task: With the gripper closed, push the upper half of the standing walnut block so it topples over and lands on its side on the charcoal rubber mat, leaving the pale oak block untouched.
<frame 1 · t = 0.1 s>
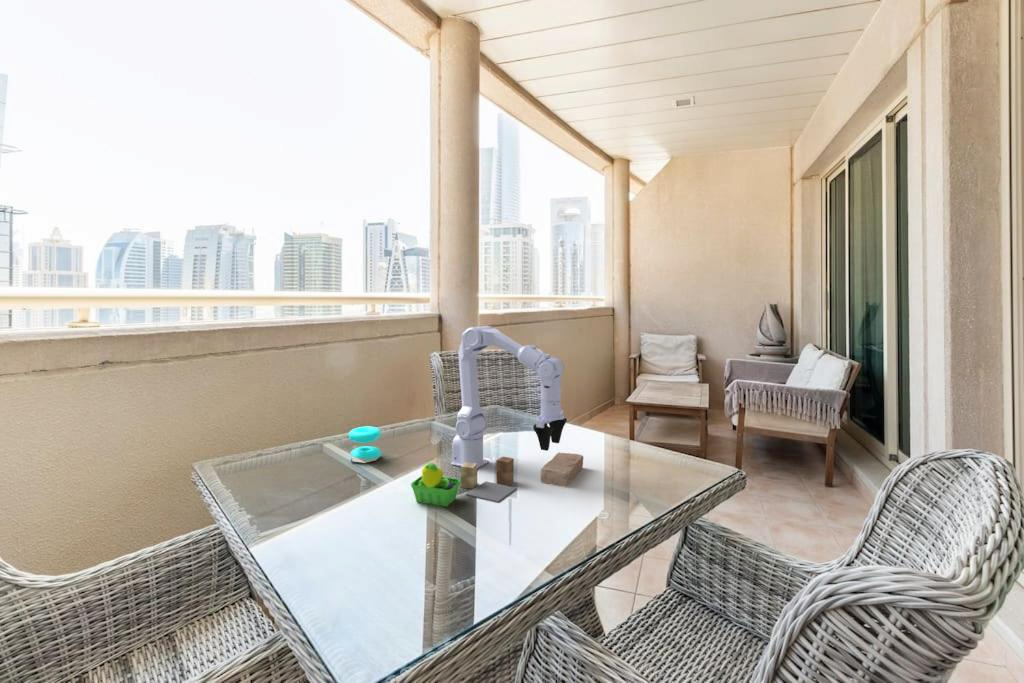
hand: (550, 446, 144), 10 cm above the table, tool pointing down, fingers open, 7 cm apart
donuts: (365, 460, 162), on the table
fruit basket: (435, 502, 130), on the table
mat: (491, 492, 136), on the table
brick: (562, 476, 148), on the table
walnut block: (505, 483, 142), on the table
oak block: (469, 485, 140), on the table
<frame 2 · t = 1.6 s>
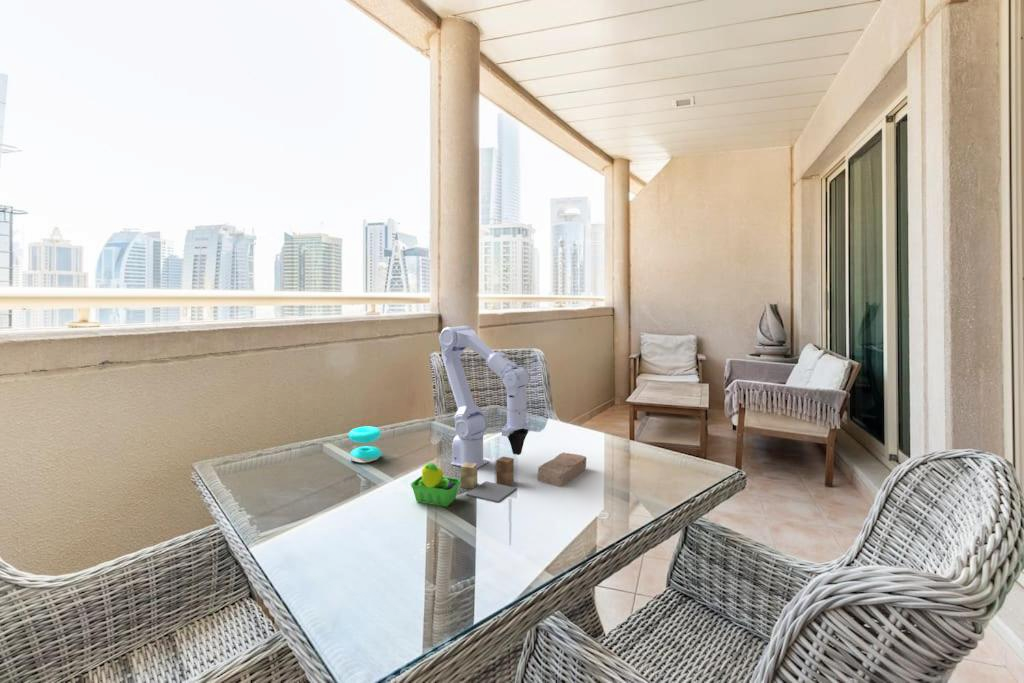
hand: (517, 453, 148), 6 cm above the table, tool pointing down, fingers closed
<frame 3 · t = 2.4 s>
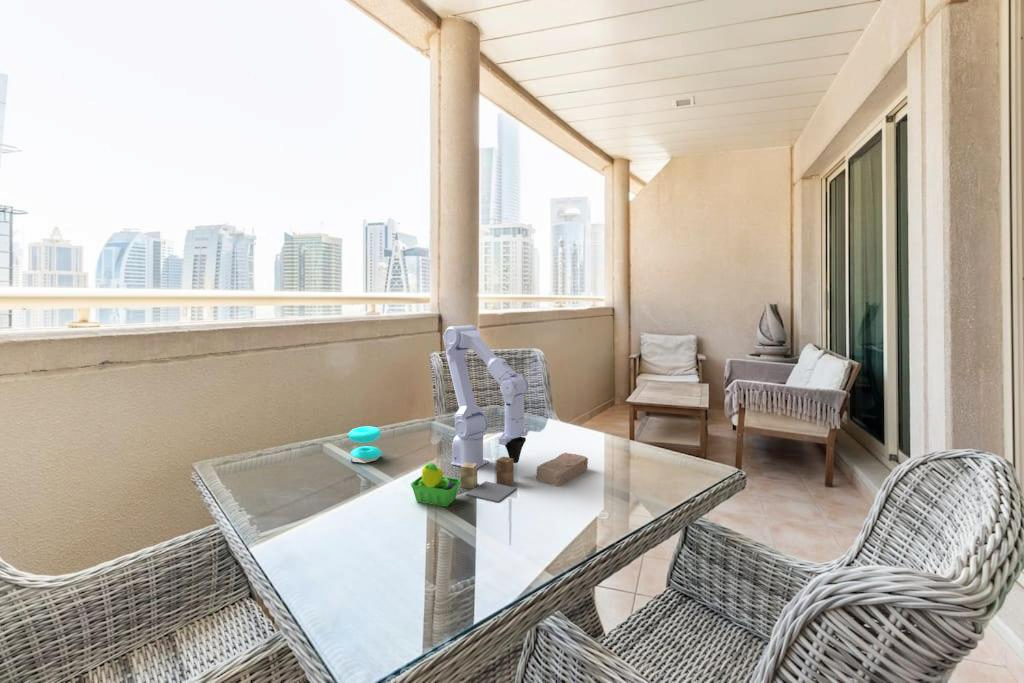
hand: (514, 462, 146), 4 cm above the table, tool pointing down, fingers closed
nothing on the table moved.
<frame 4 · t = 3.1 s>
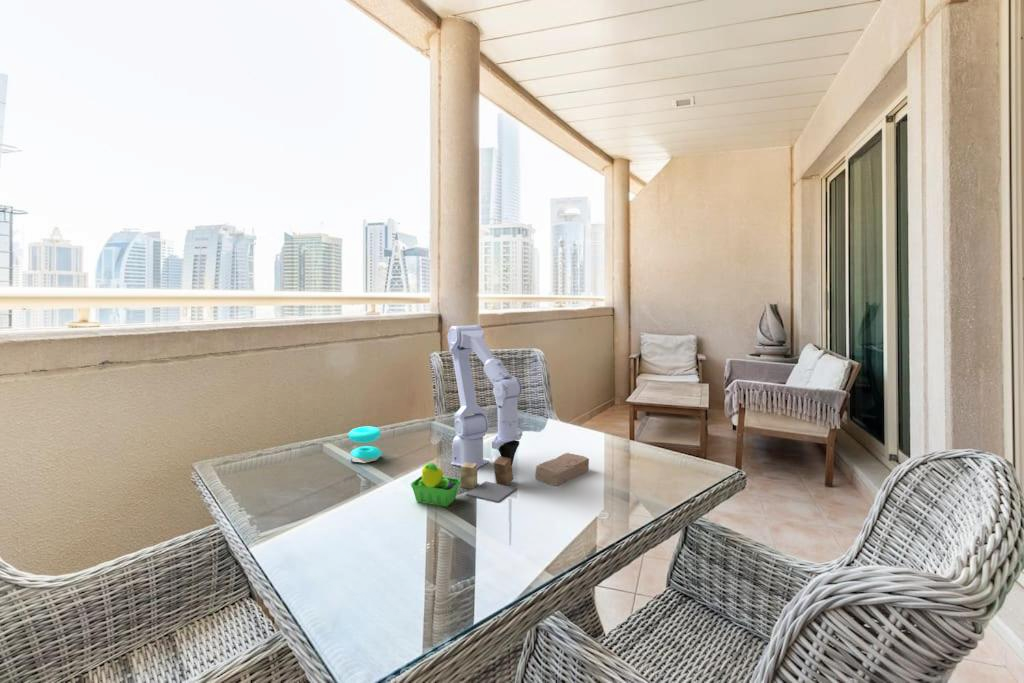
hand: (507, 466, 143), 4 cm above the table, tool pointing down, fingers closed
walnut block: (505, 481, 142), on the table, tilted 15°
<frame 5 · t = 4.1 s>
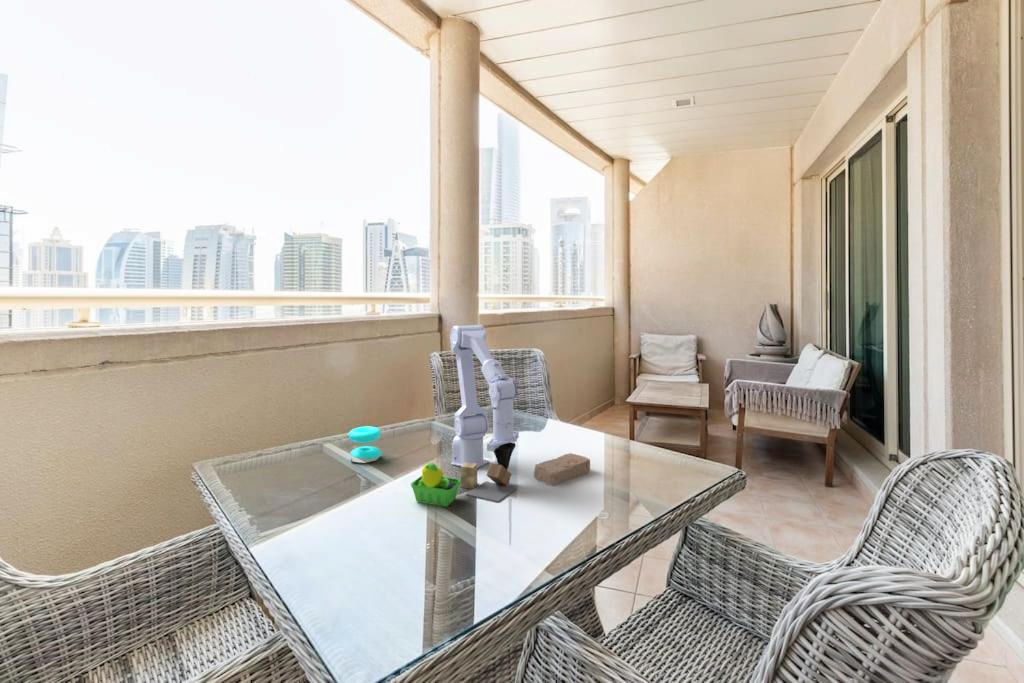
hand: (503, 468, 141), 4 cm above the table, tool pointing down, fingers closed
walnut block: (504, 479, 141), point 1 cm above the table, tilted 51°, touching gripper
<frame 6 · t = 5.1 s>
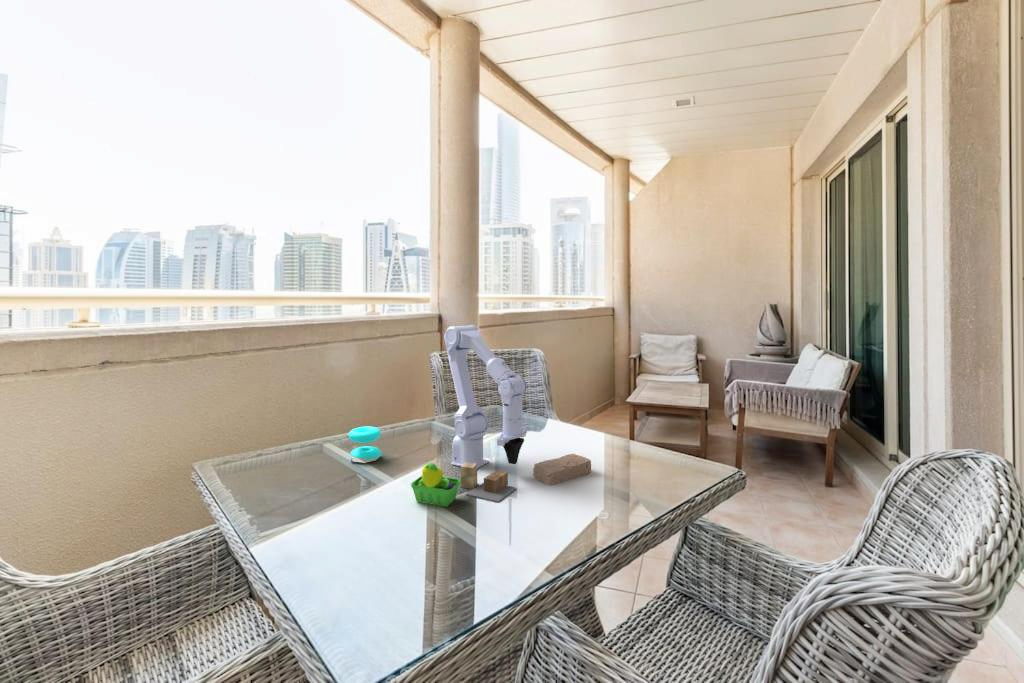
hand: (512, 463, 146), 4 cm above the table, tool pointing down, fingers closed
walnut block: (502, 477, 141), point 2 cm above the table, tilted 90°, touching mat
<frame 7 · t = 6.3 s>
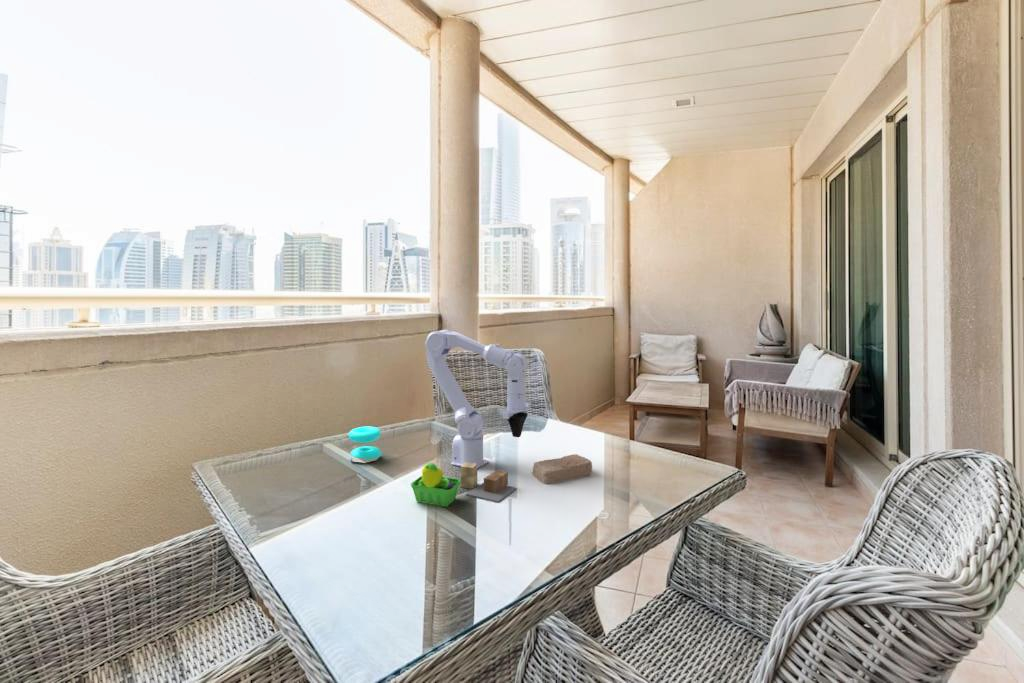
hand: (516, 436, 153), 10 cm above the table, tool pointing down, fingers closed
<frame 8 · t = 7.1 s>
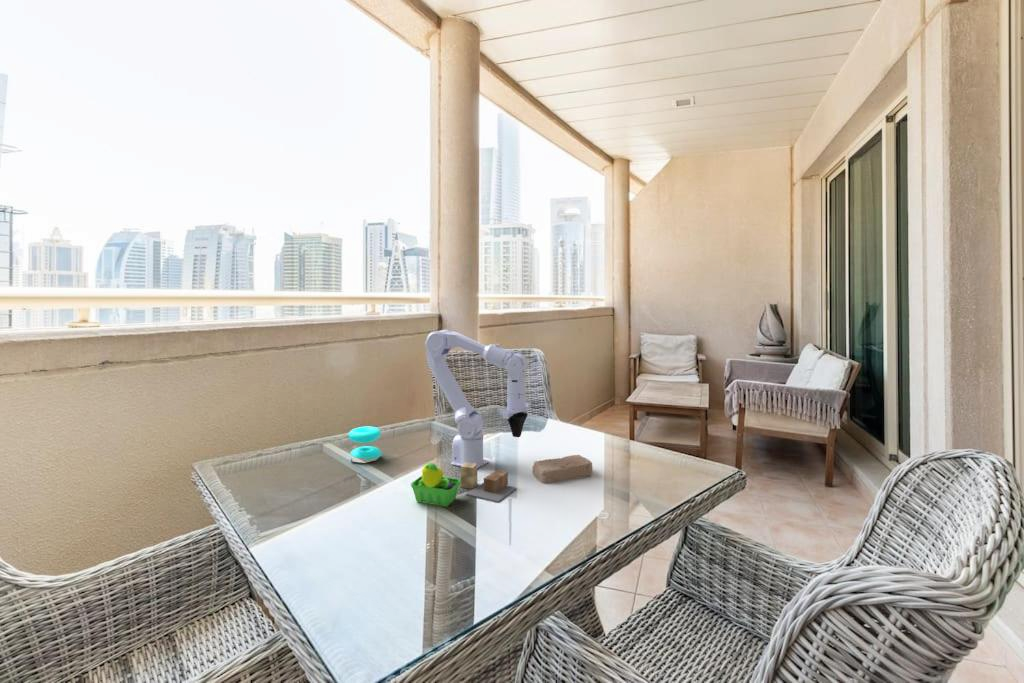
hand: (516, 436, 153), 10 cm above the table, tool pointing down, fingers closed
at the end: walnut block tilted 90°; walnut block inside the target area (4.9 cm from its centre), point 2.2 cm above the table; oak block tilted 0° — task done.
